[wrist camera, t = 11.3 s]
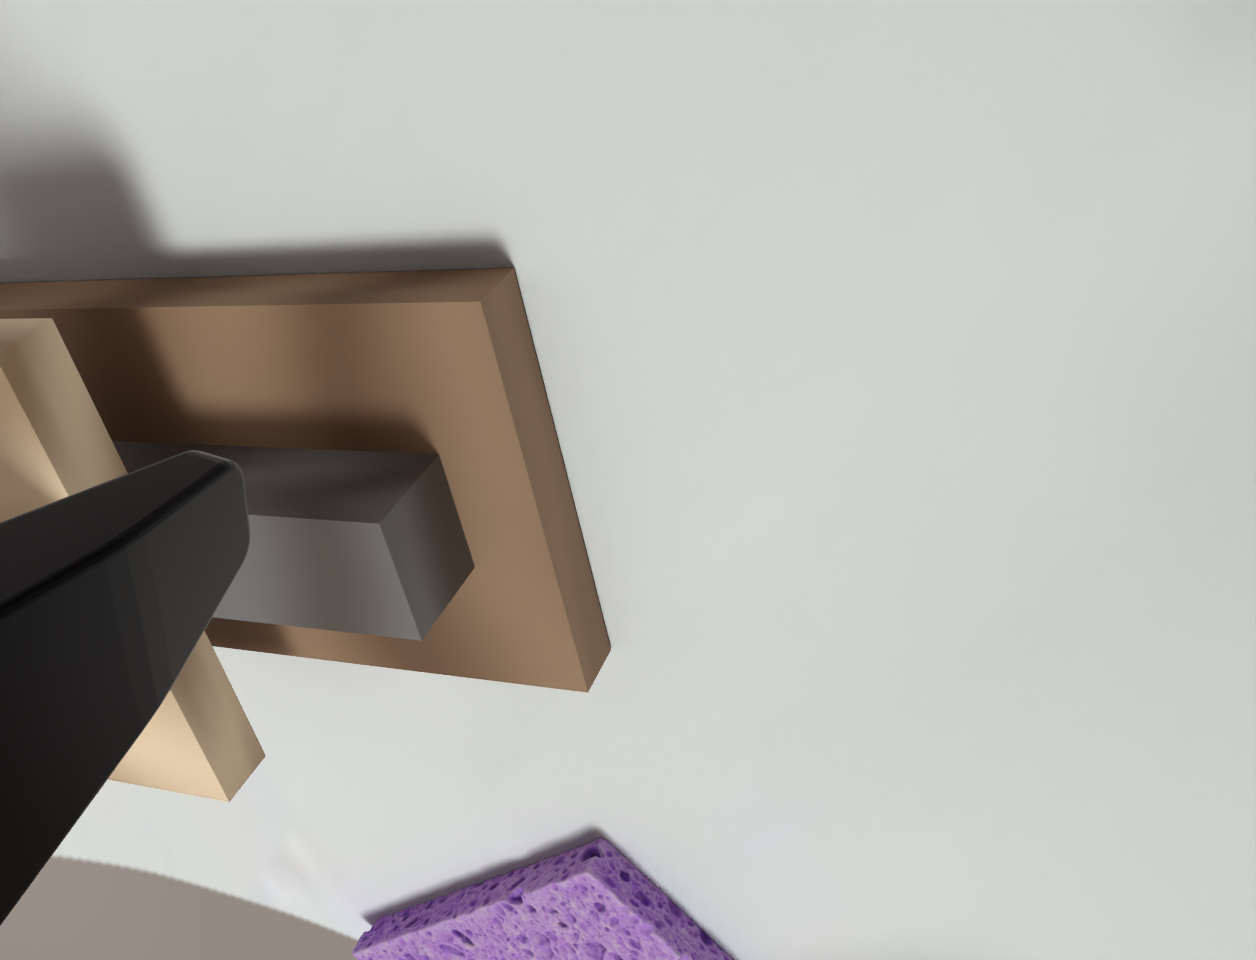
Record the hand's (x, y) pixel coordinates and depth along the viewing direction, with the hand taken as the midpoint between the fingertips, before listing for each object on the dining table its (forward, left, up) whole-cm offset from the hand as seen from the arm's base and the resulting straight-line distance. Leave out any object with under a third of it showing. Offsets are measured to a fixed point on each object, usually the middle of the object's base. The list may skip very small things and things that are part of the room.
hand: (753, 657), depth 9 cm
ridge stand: (0, +20, -13) cm, 24 cm away
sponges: (-19, +22, -14) cm, 32 cm away
